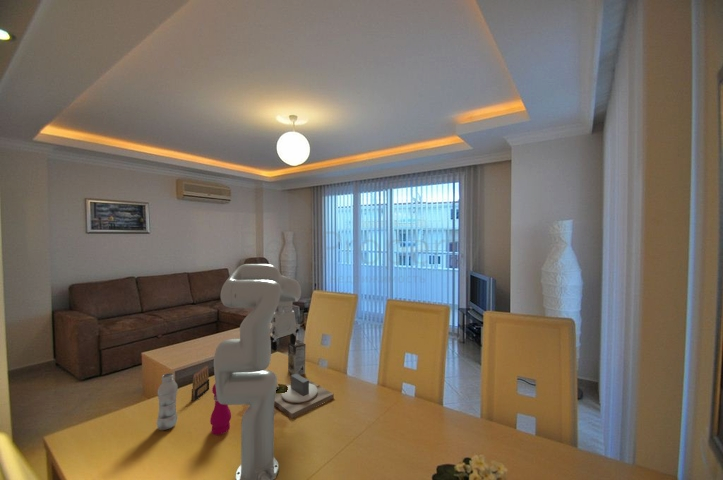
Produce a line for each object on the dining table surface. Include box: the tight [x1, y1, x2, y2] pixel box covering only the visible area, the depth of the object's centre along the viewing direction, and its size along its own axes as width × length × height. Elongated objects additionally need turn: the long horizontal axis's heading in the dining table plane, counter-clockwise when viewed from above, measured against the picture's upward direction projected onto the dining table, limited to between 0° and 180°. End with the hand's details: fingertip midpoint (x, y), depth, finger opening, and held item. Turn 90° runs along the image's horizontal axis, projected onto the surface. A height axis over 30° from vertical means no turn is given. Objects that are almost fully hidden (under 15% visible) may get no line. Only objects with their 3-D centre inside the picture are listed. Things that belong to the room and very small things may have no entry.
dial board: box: [274, 377, 334, 419], centre depth 135 cm, size 22×22×2 cm
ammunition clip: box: [190, 365, 210, 402], centre depth 138 cm, size 11×2×12 cm, turn 175°
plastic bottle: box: [156, 372, 179, 431], centre depth 114 cm, size 6×7×20 cm
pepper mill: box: [209, 383, 232, 436], centre depth 113 cm, size 7×7×20 cm
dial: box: [282, 373, 317, 403], centre depth 135 cm, size 16×16×7 cm
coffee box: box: [287, 339, 307, 376], centre depth 162 cm, size 9×6×16 cm
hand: (283, 346), depth 133 cm, fingers open, 9 cm apart
